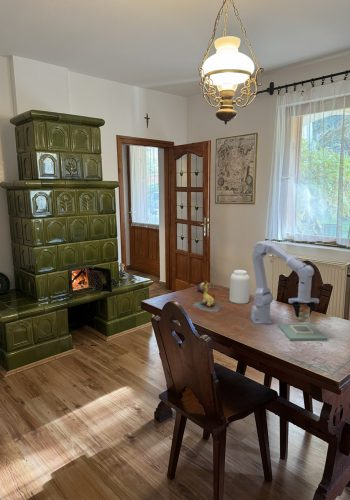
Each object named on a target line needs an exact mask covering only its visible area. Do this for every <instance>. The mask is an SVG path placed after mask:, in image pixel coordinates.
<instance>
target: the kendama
mask: <svg viewBox="0 0 350 500" xmlns="http://www.w3.org/2000/svg"><path fill="white" fill-rule="evenodd" d="M200 285H201V283H198V284H197V291H199V292H200V293H204V289H202V290H201V289H200ZM207 294H209V295H210V296H212V297H213V298H214V299H215V298H216V294H215V293H213V292H210V291H209V290H208V292H207Z"/></svg>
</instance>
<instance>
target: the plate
mask: <svg viewBox="0 0 350 500" xmlns="http://www.w3.org/2000/svg"><path fill="white" fill-rule="evenodd" d="M277 327H278V329H280V331H281V332H283V334H284V335H285V337H286V338H287V339H288V340H289V341H291V342H295V341H296V342H297V341H298V342H301V341H302V342H303V341H305V342H306V341H328V340H329V338H328V337H327V336H326V335H324V333H322V332H321V331H320V329H318V328H317V327H316V326H315V325H313V324H312V323H277Z"/></svg>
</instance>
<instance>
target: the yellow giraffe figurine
mask: <svg viewBox="0 0 350 500" xmlns="http://www.w3.org/2000/svg"><path fill="white" fill-rule="evenodd" d="M200 284H201V285H200V289H201V290H202V289H204V292H202V293H203V294H202V298H203V299H201V300H200V301H197V302H195V303H193V306H195V308H198V310H202V311H206V312H218V311H219V310H221V309H222V307H220V306H224V305H225V304H223V303H220V302H216V301H215V298H213V297H212V296H210V295H209V294H207V292H208V291H209V289H208V286H209V282H208V281H207V280H206V281H204V282H201V283H200ZM211 307H213V308H211Z"/></svg>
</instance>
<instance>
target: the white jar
mask: <svg viewBox="0 0 350 500" xmlns="http://www.w3.org/2000/svg"><path fill="white" fill-rule="evenodd" d="M250 287H251V276H250V274H249V275H248V271H247V270H244V269H234V271H233V272H232V273H231V275H230V277H229V297H228V299H229V301H230V302H231V303H233V304H247V303H249V301H250V292H251V291H250Z"/></svg>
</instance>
